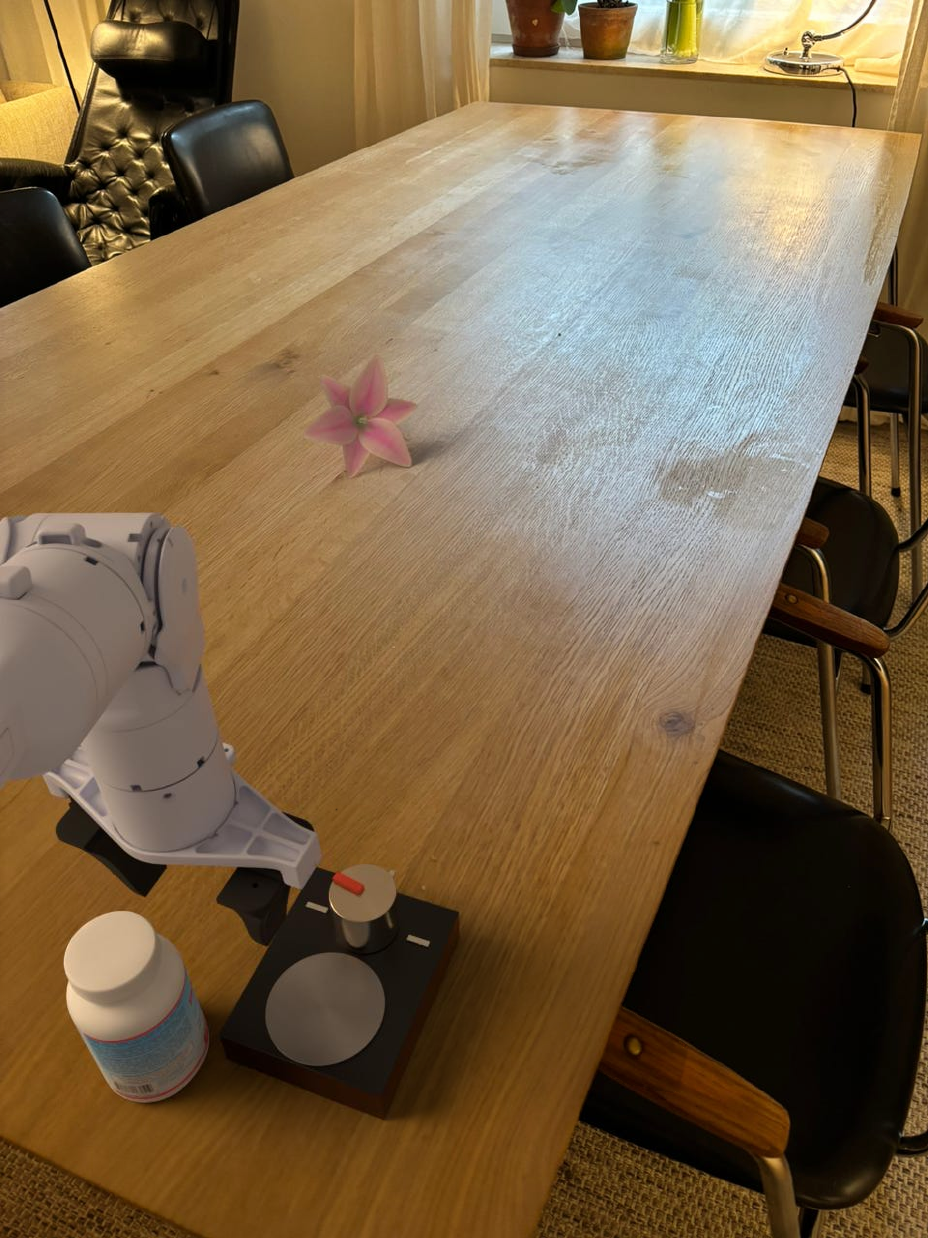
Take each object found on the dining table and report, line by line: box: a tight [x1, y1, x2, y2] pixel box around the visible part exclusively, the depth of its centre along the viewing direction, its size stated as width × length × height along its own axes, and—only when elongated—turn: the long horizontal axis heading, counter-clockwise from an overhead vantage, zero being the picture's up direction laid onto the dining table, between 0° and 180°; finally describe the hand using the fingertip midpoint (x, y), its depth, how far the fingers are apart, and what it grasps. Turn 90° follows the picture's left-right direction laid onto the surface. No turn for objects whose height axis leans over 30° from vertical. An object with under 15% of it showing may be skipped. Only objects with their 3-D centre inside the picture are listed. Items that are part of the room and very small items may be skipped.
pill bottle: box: [63, 910, 210, 1104], centre depth 54 cm, size 6×6×11 cm
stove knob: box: [329, 863, 400, 954], centre depth 59 cm, size 4×4×4 cm
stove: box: [217, 866, 461, 1121], centre depth 60 cm, size 13×10×3 cm
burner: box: [265, 953, 385, 1067], centre depth 57 cm, size 7×7×1 cm
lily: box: [300, 354, 419, 479], centre depth 106 cm, size 12×12×10 cm
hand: (210, 904), depth 54 cm, fingers open, 7 cm apart
